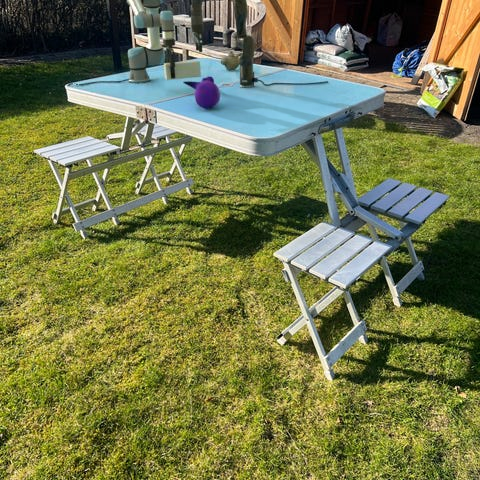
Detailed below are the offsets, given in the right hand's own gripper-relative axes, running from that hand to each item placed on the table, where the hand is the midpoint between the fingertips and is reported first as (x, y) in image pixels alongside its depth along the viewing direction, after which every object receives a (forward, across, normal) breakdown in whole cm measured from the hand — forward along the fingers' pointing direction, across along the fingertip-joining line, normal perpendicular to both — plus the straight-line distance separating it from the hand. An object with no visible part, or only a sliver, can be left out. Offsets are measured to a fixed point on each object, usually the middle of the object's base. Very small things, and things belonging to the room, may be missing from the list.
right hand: (199, 51), depth 287 cm
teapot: (+27, +73, -42) cm, 89 cm away
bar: (+16, +2, +12) cm, 20 cm away
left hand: (+15, +2, +19) cm, 24 cm away
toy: (+26, -36, +7) cm, 45 cm away
